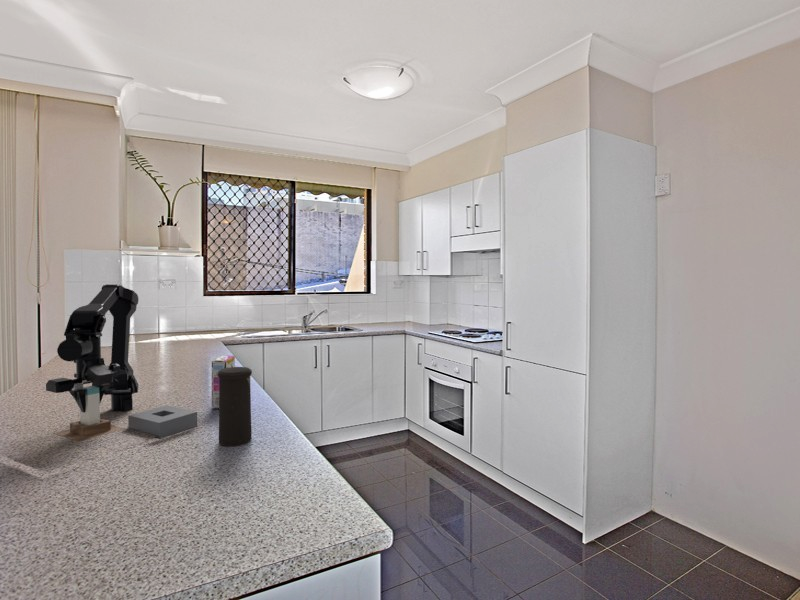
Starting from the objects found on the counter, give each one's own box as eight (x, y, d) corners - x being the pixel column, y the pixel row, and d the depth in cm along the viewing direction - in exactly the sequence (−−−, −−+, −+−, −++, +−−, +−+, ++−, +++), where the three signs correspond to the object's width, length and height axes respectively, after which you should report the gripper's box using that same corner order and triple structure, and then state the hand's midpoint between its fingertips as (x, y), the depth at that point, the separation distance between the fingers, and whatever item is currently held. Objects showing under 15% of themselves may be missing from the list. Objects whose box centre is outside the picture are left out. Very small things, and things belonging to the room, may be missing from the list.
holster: (55, 437, 127) (54, 424, 127) (100, 425, 137) (100, 413, 137) (79, 445, 121) (78, 431, 121) (125, 431, 132) (124, 419, 131)
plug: (80, 423, 129) (79, 387, 128) (92, 420, 131) (91, 385, 131) (88, 425, 127) (87, 389, 126) (100, 422, 129) (99, 387, 129)
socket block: (128, 430, 132) (128, 415, 132) (166, 419, 143) (166, 405, 143) (159, 439, 126) (159, 422, 126) (197, 426, 136) (197, 411, 136)
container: (259, 437, 128) (258, 365, 127) (237, 449, 119) (237, 372, 118) (233, 434, 130) (232, 363, 129) (210, 444, 122) (209, 369, 121)
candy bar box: (226, 409, 154) (226, 360, 153) (211, 409, 154) (210, 360, 153) (235, 400, 165) (235, 355, 165) (221, 400, 165) (220, 355, 164)
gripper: (66, 363, 116) (68, 424, 117) (139, 352, 132) (140, 406, 133) (44, 359, 121) (45, 417, 122) (116, 349, 138) (117, 401, 138)
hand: (90, 410), depth 129 cm, fingers closed on plug, 3 cm apart
